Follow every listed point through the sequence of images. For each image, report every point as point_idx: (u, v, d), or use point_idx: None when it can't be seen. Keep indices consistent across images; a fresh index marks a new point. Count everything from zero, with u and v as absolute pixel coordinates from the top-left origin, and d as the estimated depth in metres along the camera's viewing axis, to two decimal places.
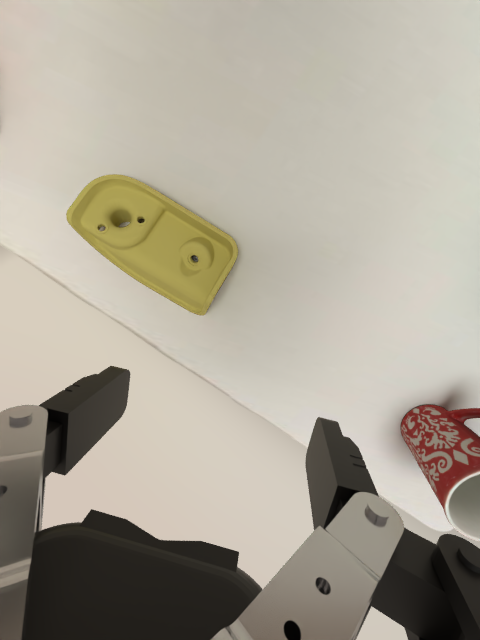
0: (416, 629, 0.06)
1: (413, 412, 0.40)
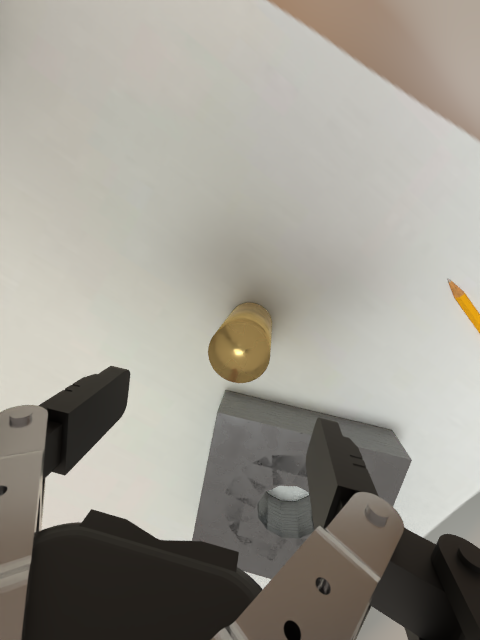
0: (416, 629, 0.06)
1: None
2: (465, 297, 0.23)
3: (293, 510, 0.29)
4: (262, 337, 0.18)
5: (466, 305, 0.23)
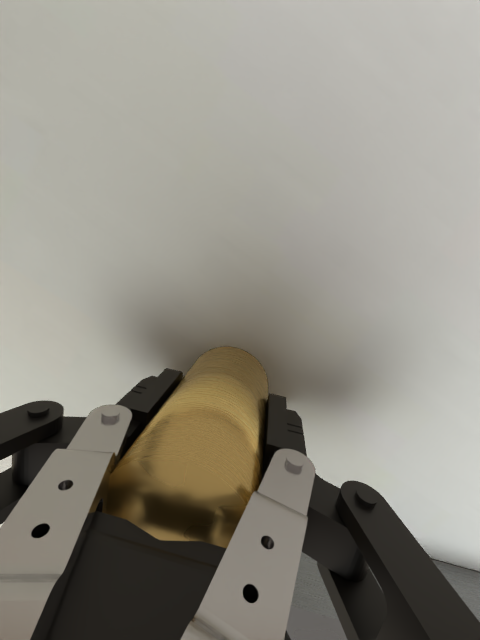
0: (320, 559, 0.07)
1: None
2: None
3: None
4: (235, 499, 0.06)
5: None
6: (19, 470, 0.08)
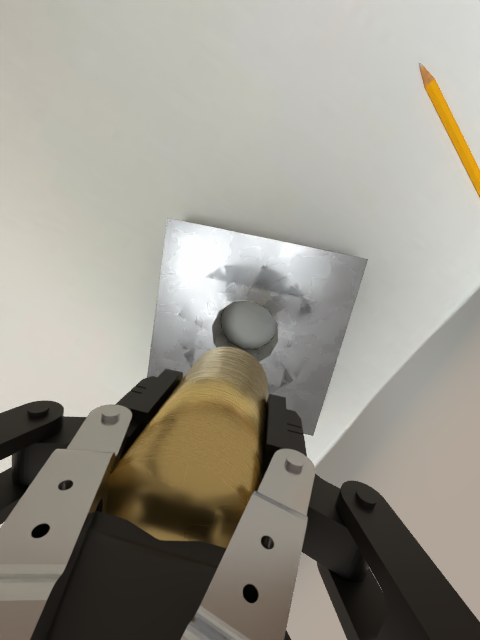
0: (320, 559, 0.07)
1: None
2: (435, 83, 0.22)
3: (254, 352, 0.28)
4: (234, 499, 0.06)
5: (435, 92, 0.22)
6: (19, 470, 0.08)
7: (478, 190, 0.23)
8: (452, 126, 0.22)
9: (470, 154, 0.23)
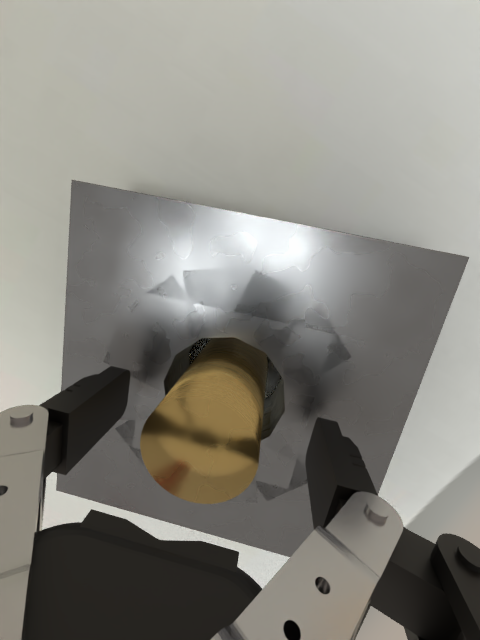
0: (416, 628, 0.06)
1: None
2: None
3: None
4: (243, 424, 0.09)
5: None
6: None
7: None
8: None
9: None
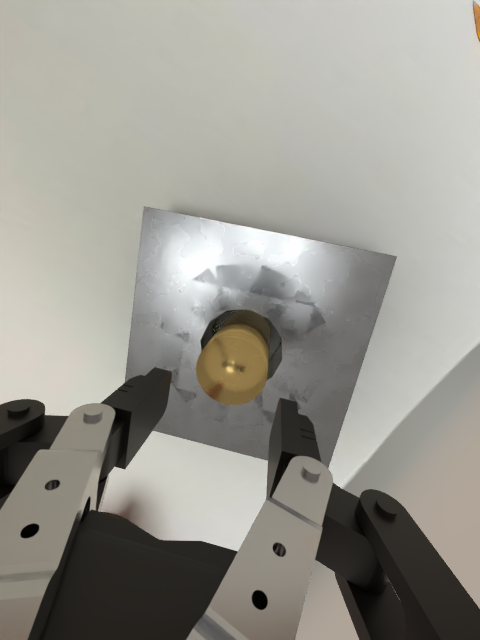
0: (339, 569, 0.07)
1: None
2: None
3: None
4: (258, 353, 0.15)
5: None
6: None
7: None
8: None
9: None
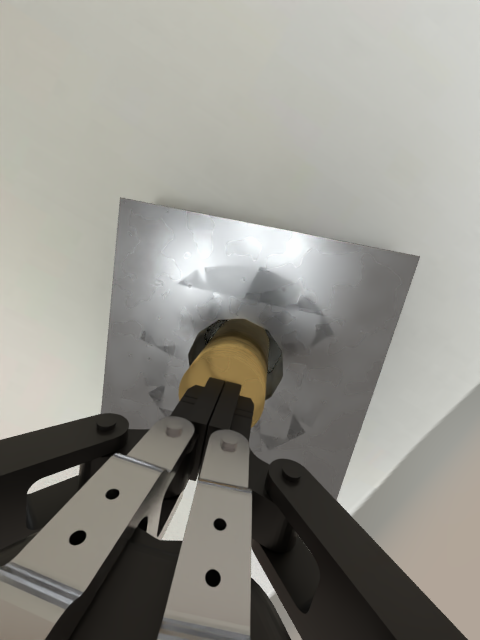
0: None
1: None
2: None
3: None
4: (253, 375, 0.13)
5: None
6: None
7: None
8: None
9: None
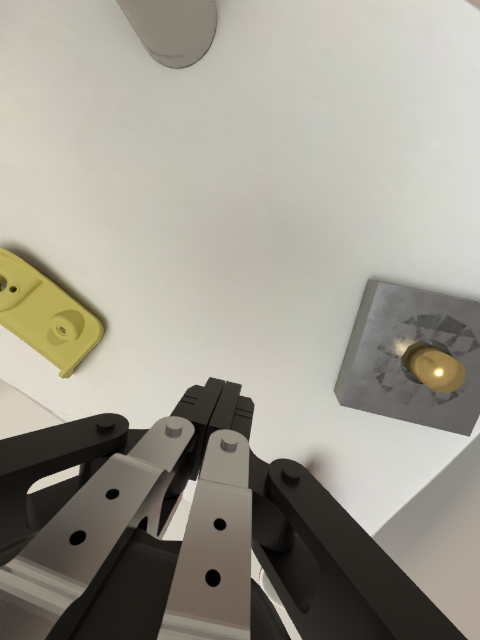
0: None
1: None
2: None
3: None
4: (462, 365, 0.30)
5: None
6: None
7: None
8: None
9: None
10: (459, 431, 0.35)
